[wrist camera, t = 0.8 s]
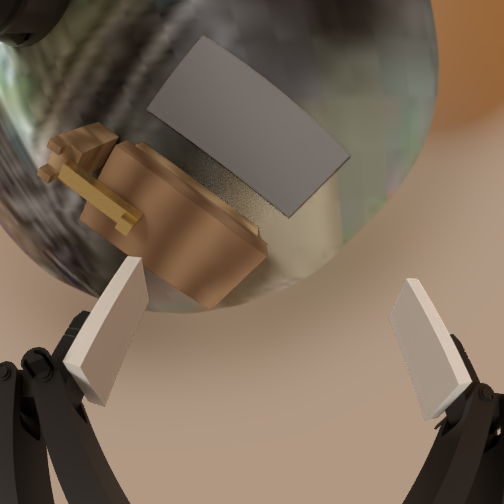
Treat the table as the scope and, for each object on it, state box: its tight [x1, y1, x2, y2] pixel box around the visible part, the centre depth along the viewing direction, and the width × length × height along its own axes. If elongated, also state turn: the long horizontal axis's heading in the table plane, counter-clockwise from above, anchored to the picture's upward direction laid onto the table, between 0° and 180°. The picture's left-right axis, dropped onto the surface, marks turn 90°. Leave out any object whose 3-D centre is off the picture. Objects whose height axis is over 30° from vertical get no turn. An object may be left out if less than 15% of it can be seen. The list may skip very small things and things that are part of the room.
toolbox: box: [37, 122, 258, 236], centre depth 34 cm, size 28×8×11 cm, turn 50°
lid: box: [80, 140, 267, 310], centre depth 34 cm, size 21×11×4 cm, turn 50°
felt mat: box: [146, 35, 350, 217], centre depth 34 cm, size 24×12×1 cm, turn 50°
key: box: [58, 160, 143, 236], centre depth 28 cm, size 11×2×3 cm, turn 50°
